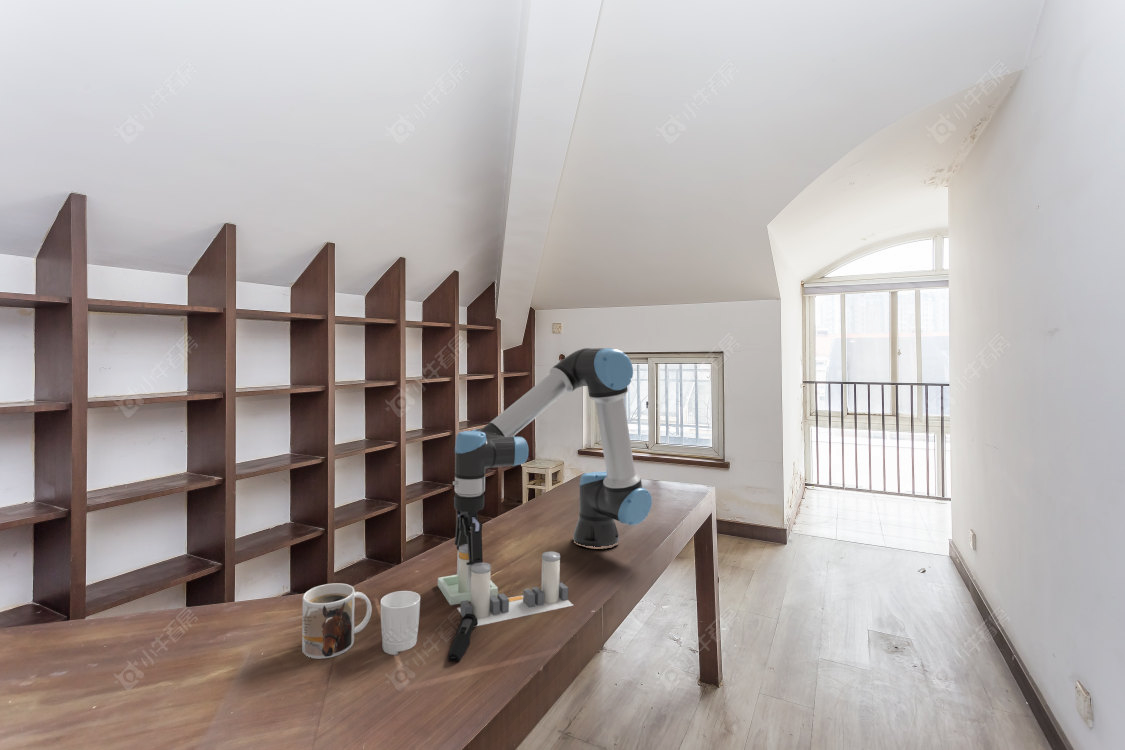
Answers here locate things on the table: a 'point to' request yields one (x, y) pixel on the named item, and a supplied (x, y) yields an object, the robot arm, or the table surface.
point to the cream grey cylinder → (550, 577)
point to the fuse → (480, 589)
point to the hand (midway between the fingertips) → (467, 581)
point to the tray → (451, 590)
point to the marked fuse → (463, 568)
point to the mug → (330, 620)
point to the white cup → (399, 621)
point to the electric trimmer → (462, 637)
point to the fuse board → (518, 605)
